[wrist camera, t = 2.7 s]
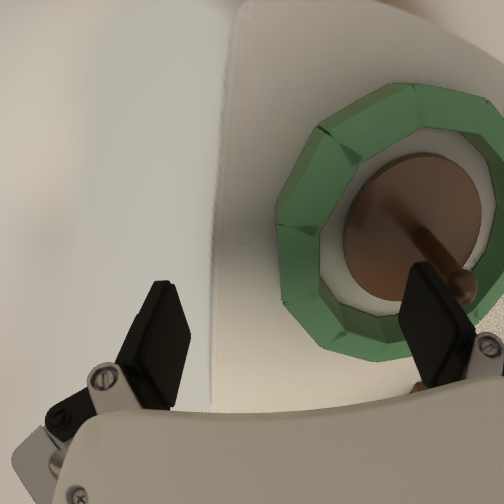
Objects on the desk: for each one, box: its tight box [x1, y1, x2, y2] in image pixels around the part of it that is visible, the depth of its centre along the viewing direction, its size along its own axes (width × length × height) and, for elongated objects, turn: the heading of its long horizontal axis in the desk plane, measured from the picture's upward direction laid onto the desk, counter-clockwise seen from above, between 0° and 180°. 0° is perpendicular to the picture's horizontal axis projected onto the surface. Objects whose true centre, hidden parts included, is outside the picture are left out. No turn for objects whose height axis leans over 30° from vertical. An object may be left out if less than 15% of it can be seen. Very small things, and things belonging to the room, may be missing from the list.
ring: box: [275, 83, 504, 362], centre depth 13 cm, size 16×16×2 cm
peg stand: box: [343, 154, 481, 306], centre depth 12 cm, size 9×9×6 cm
